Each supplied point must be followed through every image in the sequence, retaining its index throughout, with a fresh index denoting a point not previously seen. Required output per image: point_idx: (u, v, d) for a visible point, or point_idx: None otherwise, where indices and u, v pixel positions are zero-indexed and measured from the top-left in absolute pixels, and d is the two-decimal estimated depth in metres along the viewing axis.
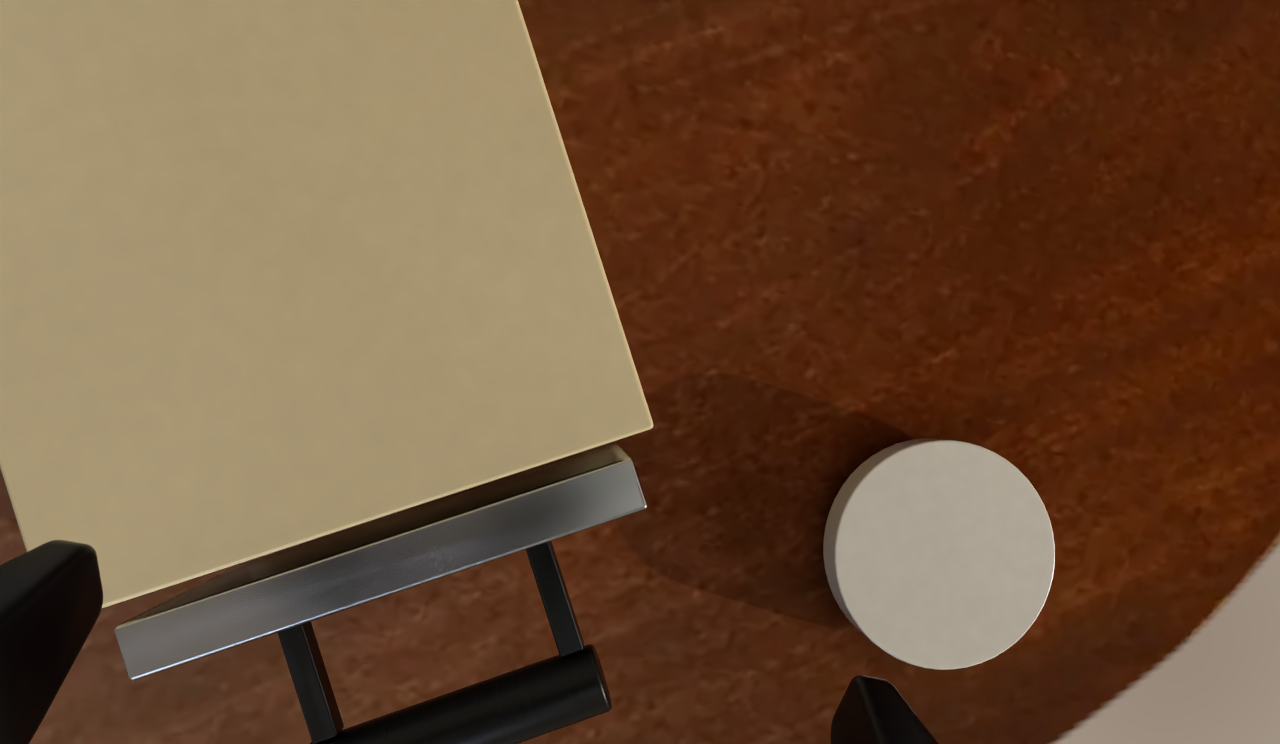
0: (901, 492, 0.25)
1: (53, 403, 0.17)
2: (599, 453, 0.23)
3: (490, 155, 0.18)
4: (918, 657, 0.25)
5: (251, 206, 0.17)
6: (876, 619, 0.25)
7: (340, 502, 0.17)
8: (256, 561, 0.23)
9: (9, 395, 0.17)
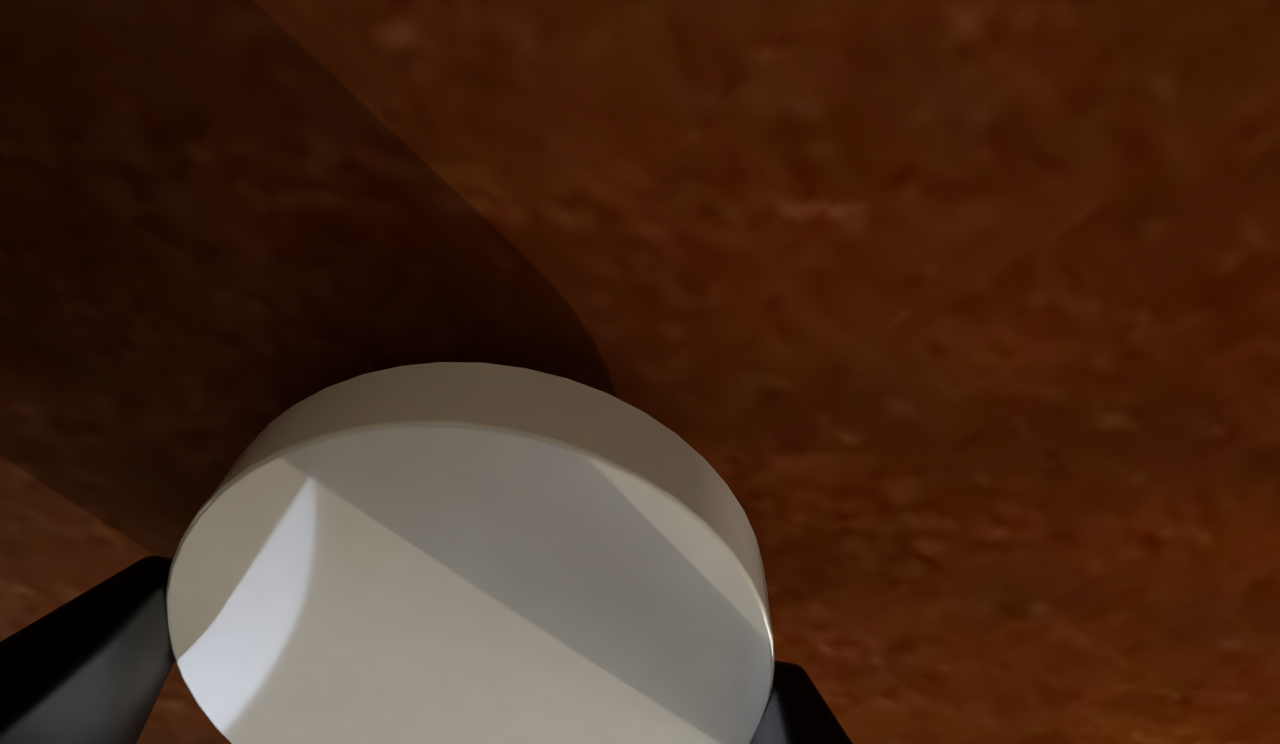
0: (419, 516, 0.08)
1: None
2: None
3: None
4: None
5: None
6: (239, 702, 0.10)
7: None
8: None
9: None
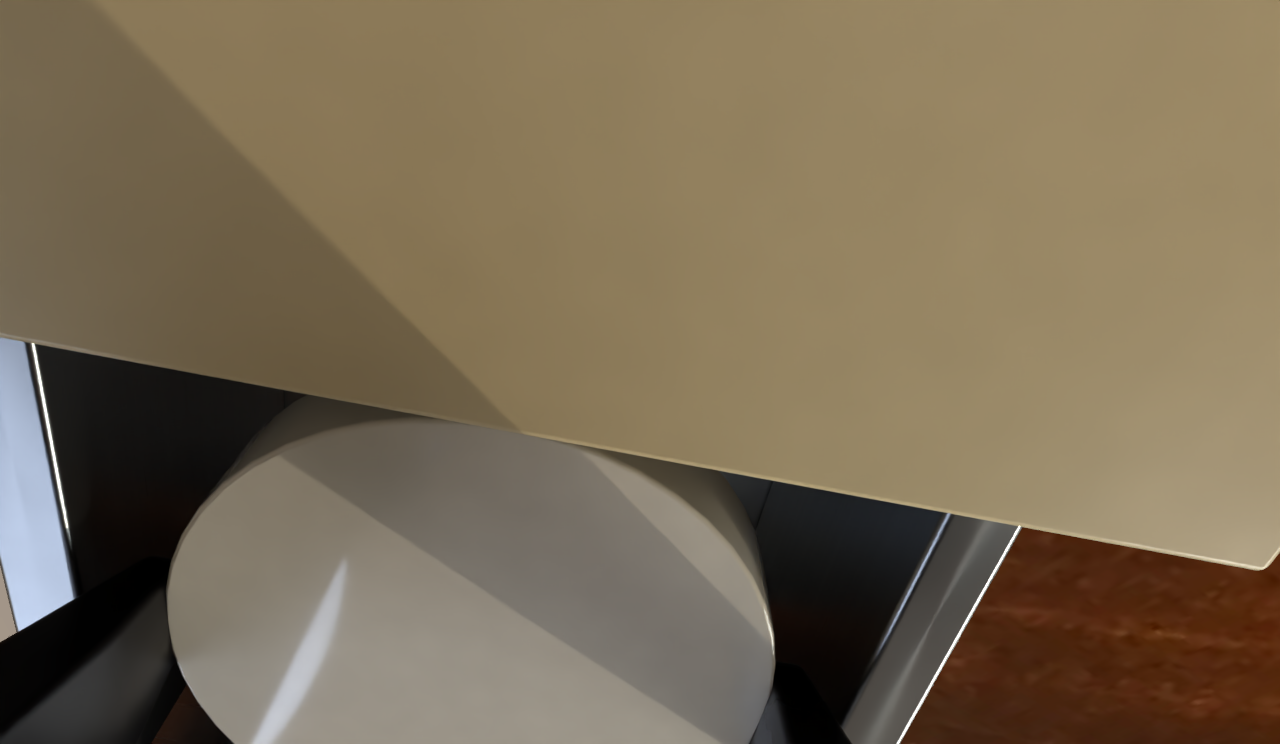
0: (420, 513, 0.08)
1: None
2: None
3: None
4: None
5: None
6: (239, 700, 0.10)
7: (469, 366, 0.06)
8: None
9: None
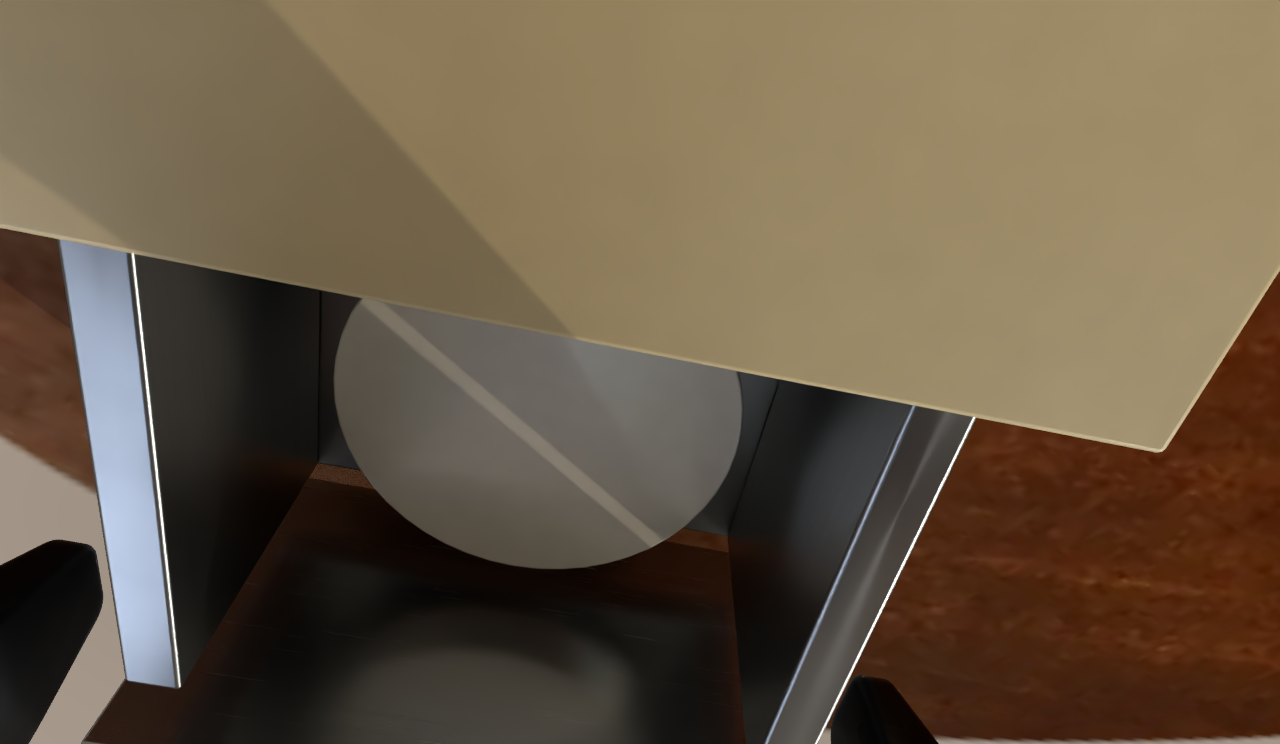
0: None
1: None
2: None
3: None
4: (420, 517, 0.15)
5: None
6: (377, 443, 0.14)
7: (508, 275, 0.07)
8: (289, 514, 0.17)
9: None
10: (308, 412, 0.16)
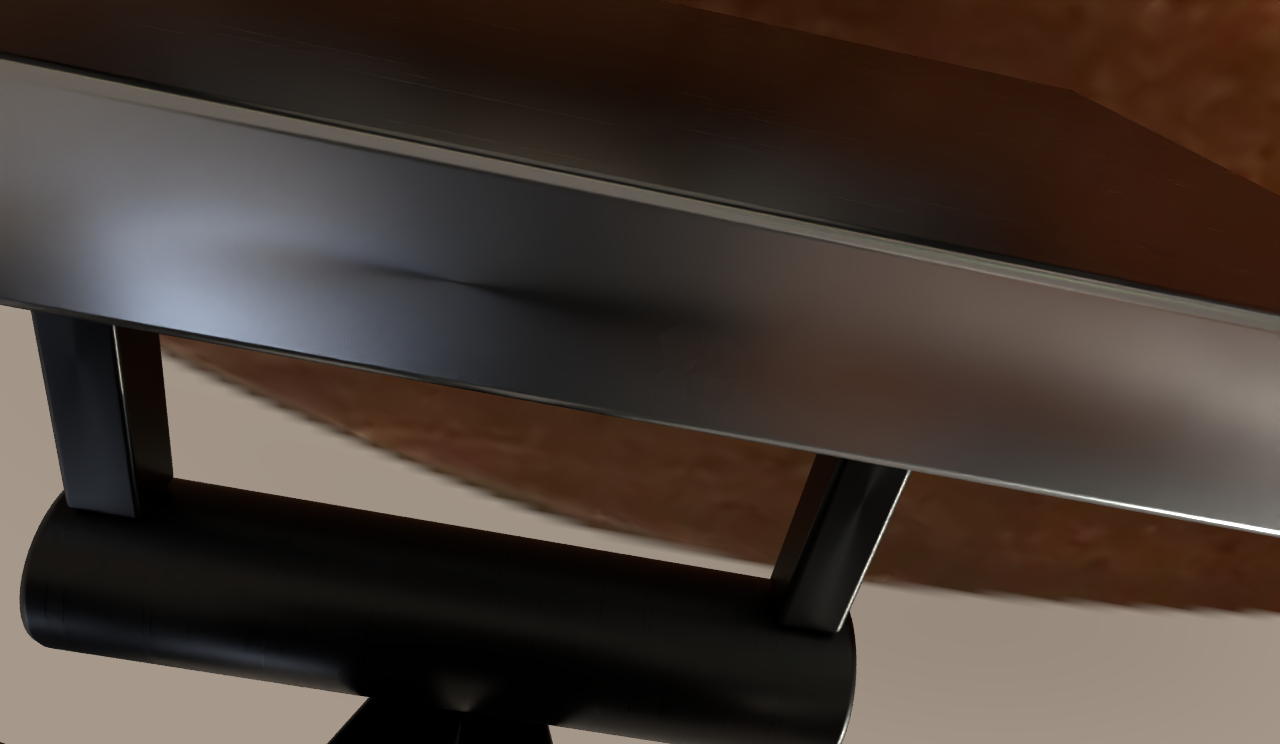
0: None
1: None
2: (1141, 142, 0.07)
3: None
4: None
5: None
6: None
7: None
8: None
9: None
10: None
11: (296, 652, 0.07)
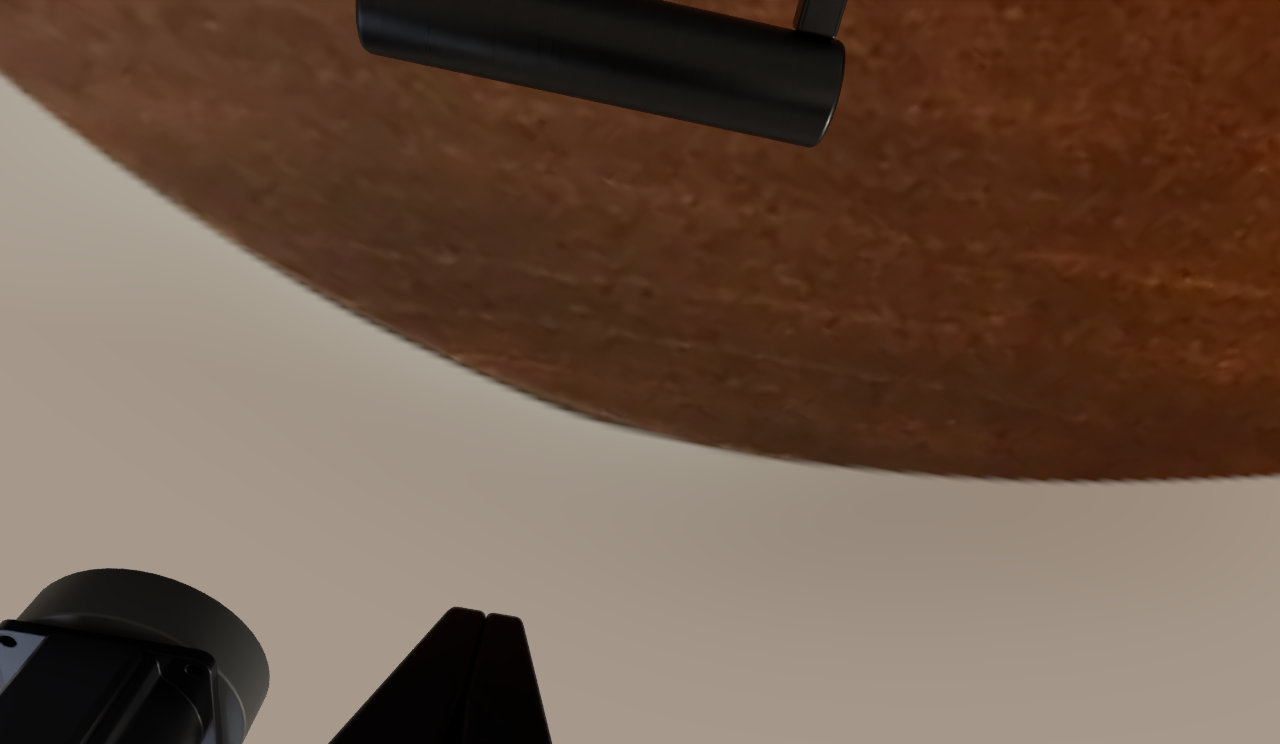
0: None
1: None
2: None
3: None
4: None
5: None
6: None
7: None
8: None
9: None
10: None
11: (515, 27, 0.12)
